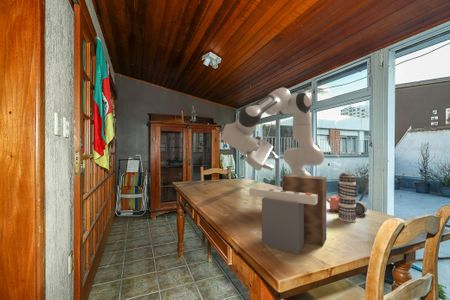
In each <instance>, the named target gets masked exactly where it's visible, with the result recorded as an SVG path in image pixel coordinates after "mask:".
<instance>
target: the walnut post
mask: <svg viewBox="0 0 450 300" xmlns="http://www.w3.org/2000/svg"><path fill="white" fill-rule="evenodd" d="M281 178H282V179H281V181H282V182H281V184H282V185H281V187H282V189H281V190H283V191H291V192H300V193H313V194H317V195H318V203H317V204H316V205H311V204H304V243H308V244H311V245H312V244H313V245H315V246H316V245H317V246H320V247H323V246H324V245H325V243H326V241H327V201H326V197H327V176H315V175H311V176H303V175H292V174H286V175H282V177H281Z"/></svg>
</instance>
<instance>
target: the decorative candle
mask: <svg viewBox="0 0 450 300" xmlns="http://www.w3.org/2000/svg"><path fill="white" fill-rule="evenodd" d="M356 184H357V183H356V175H354V173H352V172H340V174H339V175H338V184H337V186H338V187H337V193H338V194H337V195H338V197H339V206H338V207H339V208H338V209H339V210H340V211H339V210H337V212H338V217H337V219H338V220H340V221H343V222H348V223H355V222H357V217H358V216H356V215H357V214H356V213H355V212H356V210H355V209H357V208H356V204H355V202H356V199H357V197H358V196H357V193H358V192H356V191H358V189H357V187H358V186H357V185H356Z"/></svg>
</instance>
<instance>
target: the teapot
mask: <svg viewBox="0 0 450 300" xmlns="http://www.w3.org/2000/svg"><path fill="white" fill-rule="evenodd" d="M326 203H328V204H329V208H330V210H332V212H335V211H340V210H339V209H338V208H339V207H338V206H339V197H338V194H336V195H332V196H331V197H330V199H329V198H328V196H326Z"/></svg>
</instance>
